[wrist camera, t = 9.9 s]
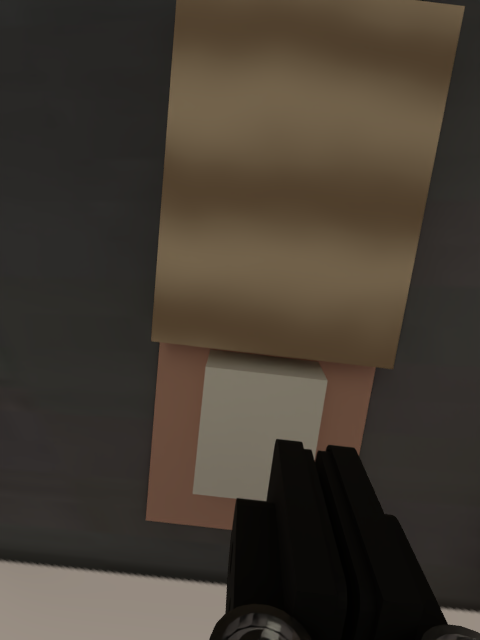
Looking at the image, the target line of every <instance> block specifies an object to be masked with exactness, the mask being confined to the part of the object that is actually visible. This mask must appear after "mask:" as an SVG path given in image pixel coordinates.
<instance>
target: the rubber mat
mask: <svg viewBox="0 0 480 640" xmlns="http://www.w3.org/2000/svg"><path fill="white" fill-rule="evenodd" d="M210 349H211V350H220V351H229V352H237V353H246V354H255V355H263V356H272V357H281V358H290V359H298V360H307V361H316V362H319V364H320V366H321V368H322V370H323V372H324V374H325V376H326V378H327V380H328V382H327V388H326V394H325V400H324V406H323V412H322V418H321V424H320V430H319V436H318V442H317V448H316V454H315V460H316V455H317V452H318V450H320V451H326V448H327V446H328V445H336V446H345V447H353V448H355V449H356V451H357V453H358V455H359V453H360V448H361V442H362V437H363V432H364V427H365V421H366V416H367V411H368V405H369V400H370V395H371V390H372V384H373V379H374V374H375V368H376V367H370V366H361V365H352V364H344V363H335V362H326V361H318V360H309V359H300V358H292V357H283V356H274V355H266V354H257V353H248V352H240V351H231V350H222V349H214V348H205V347H196V346H188V345H179V344H170V343H162V342H160V347H159V359H158V372H157V385H156V397H155V410H154V423H153V435H152V448H151V460H150V473H149V486H148V498H147V511H146V520H148V521H156V522H165V523H174V524H183V525H192V526H201V527H210V528H219V529H228V530H232V525H233V518H234V510H235V503H236V499H233V498H224V497H215V496H206V495H198V494H193V484H194V474H195V465H196V455H197V445H198V435H199V426H200V416H201V406H202V396H203V387H204V377H205V367H206V363H207V360H208V356H209V353H210ZM315 460H314V461H315Z"/></svg>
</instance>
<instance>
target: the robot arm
mask: <svg viewBox="0 0 480 640" xmlns="http://www.w3.org/2000/svg"><path fill="white" fill-rule="evenodd" d="M210 640H480V633H478V632H476V631H473V630H470V629H467V628H465V627H462V626H456V625H448V624H447V622H446V620H445V617H444V615H443V613H442V611H441V609H440V607H439V605H438V603H437V601H436V598H435V596H434V594H433V592H432V590H431V588H430V586H429V584H428V582H427V580H426V577H425V575H424V573H423V571H422V569H421V567H420V565H419V563H418V561H417V559H416V556H415V554H414V552H413V550H412V548H411V546H410V544H409V542H408V540H407V538H406V535H405V533H404V531H403V529H402V527H401V525H400V523H399V521H398V520H397V518H396V517H395V516H393V515H387V514H384V512H383V510H382V507H381V505H380V503H379V501H378V498H377V496H376V494H375V492H374V489H373V487H372V485H371V483H370V480H369V478H368V476H367V474H366V471H365V469H364V467H363V464H362V462H361V460H360V458H359V455H358V453H357V451H356V449H355V448H353V447H345V446H336V445H328V446H327V448H326V451H320V450H318V452H317V455H316V460H315V461H314V457H313V453H312V450H311V449H304V447H303V443H302V442H300V441H291V440H282V439H276V442H275V446H274V453H273V459H272V466H271V473H270V480H269V486H268V493H267V500H266V501H260V500H251V499H242V498H237V499H236V503H235V510H234V518H233V525H232V533H231V542H230V552H229V564H228V578H227V597H226V614H225V615H224V616H223V617H222V618H221V619H220V620H219V621H218V622H217V623H216V625H215V627H214V630H213V632H212V634H211V636H210Z"/></svg>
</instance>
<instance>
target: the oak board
mask: <svg viewBox="0 0 480 640" xmlns="http://www.w3.org/2000/svg"><path fill="white" fill-rule="evenodd" d="M464 8H465V6H458V5H450V4H442V3H434V2H426V1H417V0H177V1H176V14H175V27H174V41H173V54H172V68H171V81H170V94H169V108H168V121H167V134H166V148H165V161H164V175H163V188H162V201H161V215H160V228H159V242H158V255H157V268H156V282H155V295H154V308H153V322H152V335H151V341H153V342H162V343H170V344H179V345H188V346H196V347H205V348H214V349H222V350H231V351H240V352H248V353H257V354H266V355H274V356H283V357H292V358H300V359H309V360H318V361H326V362H335V363H344V364H352V365H361V366H370V367H378V368H387V369H393V366H394V361H395V356H396V351H397V346H398V341H399V336H400V331H401V326H402V321H403V316H404V311H405V306H406V301H407V296H408V291H409V286H410V281H411V276H412V271H413V266H414V261H415V255H416V250H417V245H418V240H419V235H420V230H421V225H422V220H423V215H424V210H425V205H426V200H427V195H428V190H429V185H430V180H431V175H432V170H433V165H434V160H435V155H436V150H437V145H438V139H439V134H440V129H441V124H442V119H443V114H444V109H445V104H446V99H447V94H448V89H449V84H450V79H451V74H452V69H453V64H454V59H455V54H456V49H457V44H458V39H459V34H460V29H461V24H462V18H463V13H464Z"/></svg>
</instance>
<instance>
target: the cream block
mask: <svg viewBox="0 0 480 640" xmlns="http://www.w3.org/2000/svg"><path fill="white" fill-rule="evenodd" d="M327 382H328V380H327V378H326V376H325V374H324V372H323V370H322V368H321V366H320V364H319V362H316V361H307V360H298V359H290V358H281V357H272V356H263V355H255V354H246V353H237V352H229V351H220V350H211V349H210V353H209V356H208V360H207V363H206V367H205V377H204V387H203V396H202V406H201V416H200V426H199V435H198V445H197V455H196V465H195V474H194V484H193V494H198V495H206V496H215V497H224V498H233V499H237V498H242V499H251V500H260V501H266V500H267V493H268V486H269V480H270V473H271V466H272V459H273V453H274V446H275V442H276V439H282V440H291V441H300V442H302V443H303V447H304V449H311V450H312V453H313V457H314V460H315V454H316V448H317V442H318V436H319V430H320V424H321V418H322V412H323V406H324V400H325V394H326V388H327Z"/></svg>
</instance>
